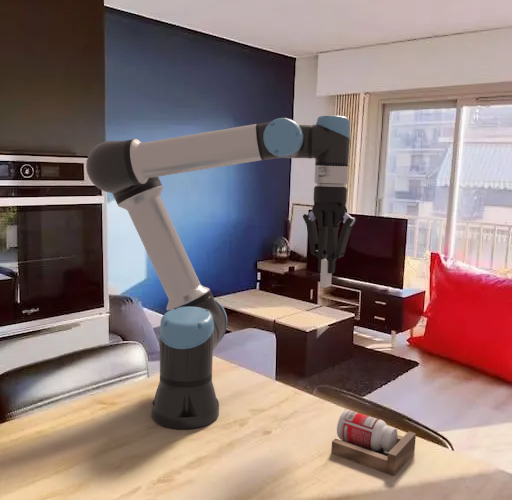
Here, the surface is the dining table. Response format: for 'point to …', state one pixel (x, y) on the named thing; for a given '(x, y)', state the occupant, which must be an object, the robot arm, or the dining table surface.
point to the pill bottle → (366, 431)
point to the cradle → (378, 453)
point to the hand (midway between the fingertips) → (325, 286)
